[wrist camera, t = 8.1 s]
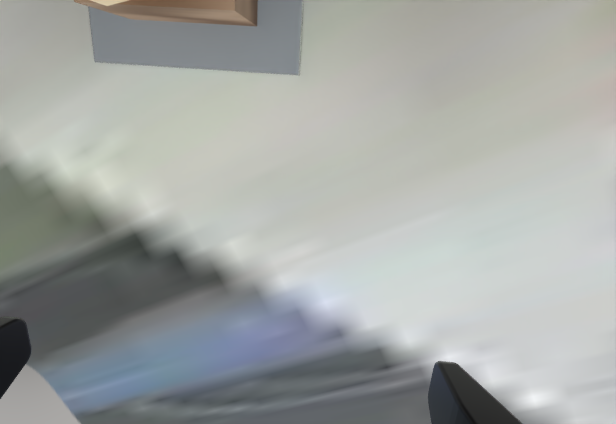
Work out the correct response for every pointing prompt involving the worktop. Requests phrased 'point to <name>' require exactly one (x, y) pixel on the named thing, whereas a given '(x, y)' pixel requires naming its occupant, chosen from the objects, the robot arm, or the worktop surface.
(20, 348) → the robot arm
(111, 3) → the top block
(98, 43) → the slate coaster
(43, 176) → the worktop surface
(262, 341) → the worktop surface
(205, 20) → the base block
